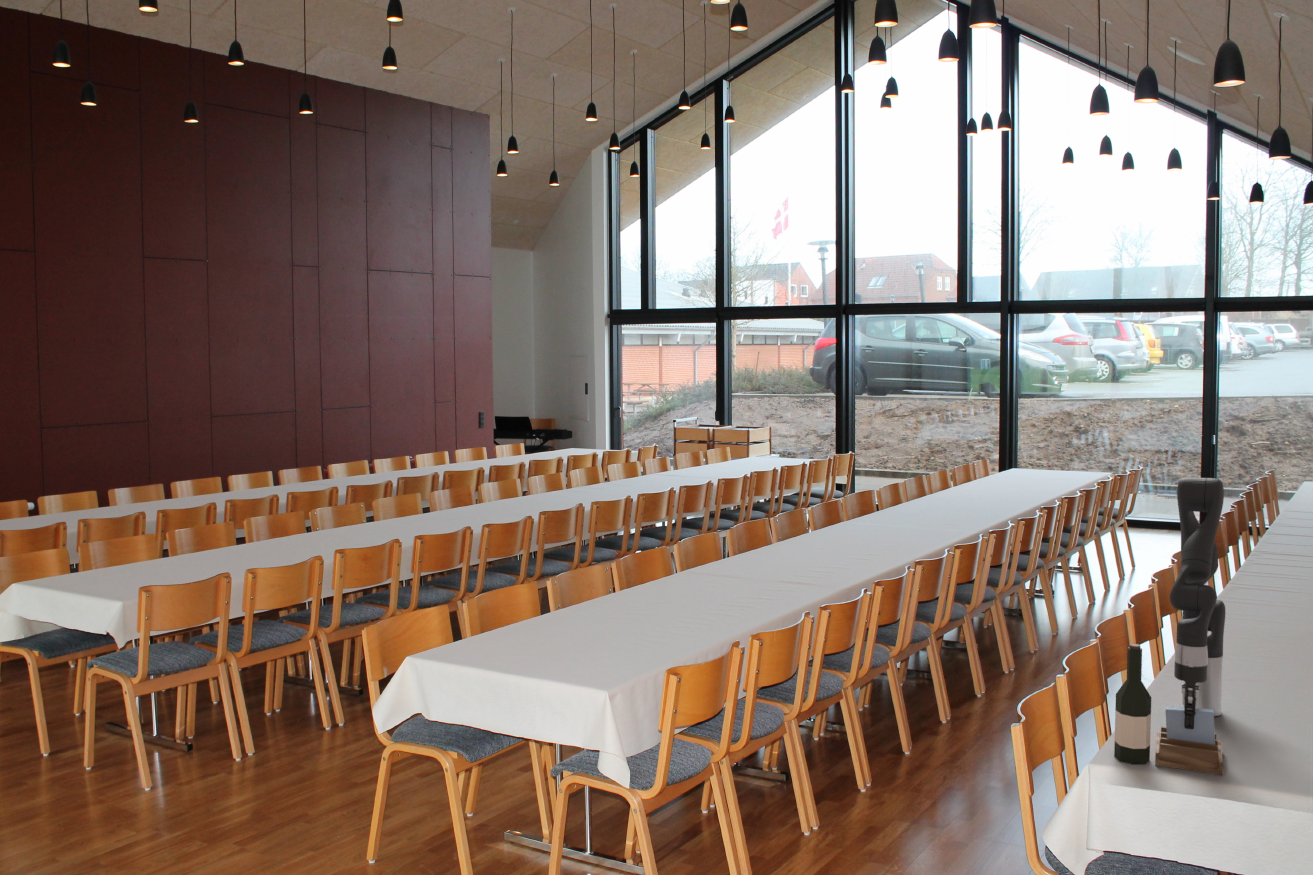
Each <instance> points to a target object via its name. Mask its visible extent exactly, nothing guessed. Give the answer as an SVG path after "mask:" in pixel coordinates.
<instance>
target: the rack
mask: <svg viewBox="0 0 1313 875" xmlns="http://www.w3.org/2000/svg"><path fill="white" fill-rule="evenodd" d="M1217 736H1218V735H1217V733H1215V745H1212V744H1205V743H1197V742H1190V741H1183V740H1176V739H1169V738H1167V729H1166V726H1160V731H1157V732H1156V741H1155V742H1156V744H1155V760H1154V761H1155V762H1154V763H1155V764H1154V765H1155V766H1159V765H1160V767H1165V766H1166V768H1173V769H1180V770H1187V771H1192V772H1193V771H1194V772H1200V773H1207V774H1213V775H1219V776H1220V775H1222V776H1223V753H1222V742H1221V739H1220V740H1219V739H1217Z"/></svg>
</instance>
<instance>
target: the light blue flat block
mask: <svg viewBox="0 0 1313 875" xmlns="http://www.w3.org/2000/svg"><path fill="white" fill-rule="evenodd" d="M1187 709H1188V710H1193V709H1190V708H1187ZM1195 712H1196V714H1195V716H1194V729H1186V728H1185V727H1184V720H1185V714H1184V706H1182V707H1181V706H1179V707H1178V706H1169V705H1168V706H1167V705H1166V706H1165V723H1166V724H1165V727H1166V729H1167V738H1169V739H1176V740H1183V741H1190V742H1197V743H1205V744H1212V745H1215V734H1216V733H1215V716H1214V710H1213V709H1199V708H1195Z"/></svg>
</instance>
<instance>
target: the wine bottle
mask: <svg viewBox="0 0 1313 875" xmlns="http://www.w3.org/2000/svg"><path fill="white" fill-rule="evenodd" d="M1126 656H1127V657H1126V659H1127V660H1126V680H1125V681H1124V682H1123V683H1122V685H1121V687H1119V689H1118V690H1117V692H1116V693H1115V709H1114V710H1115V712H1114V713H1115V714H1114V716H1115V718H1114V722H1115V723H1114V751H1113V752H1114V754H1113V755H1114V756H1113V757H1114V758H1115V759H1116V760H1118V761H1119V762H1120V763H1125V764H1128V765H1132V766H1133V765H1136V766H1137V765H1143V766H1144V765H1146V764H1148V763H1149V762H1150V761H1151V759H1150V758H1151V756H1150V755H1151V729H1152V727H1151V723H1152V720H1151V719H1152V696H1151V695H1150V693H1149V691H1148V690H1147V688H1146V686H1145V685H1144V683H1143V681H1142V672H1143V671H1142V669H1143V667H1142V665H1143V648H1141V645H1140V644H1138V643H1130V644H1129V646H1128V647H1127V653H1126ZM1147 762H1148V763H1147Z"/></svg>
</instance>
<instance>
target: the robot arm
mask: <svg viewBox="0 0 1313 875" xmlns="http://www.w3.org/2000/svg"><path fill="white" fill-rule="evenodd" d="M1224 489H1225V488H1224V484H1223V482H1222V480H1221V479H1219V478H1213V477H1192V476H1191V477H1189V476H1188V477H1187V476H1186V477H1182V478H1180V479H1179V481H1178V483H1177V487H1176V498H1177V508H1178V515H1179V523H1180V524H1179V525H1180V557H1181V558H1180V560H1181V561H1180V569H1179V572H1178V574H1177V577H1176V579H1175V581H1174V582H1173V585H1172V586H1171V590H1170V591H1169V602H1170V605H1171V606H1172V607H1173V608H1174V610H1179V611H1182V616H1181V617H1182V619H1180V620H1178V622H1177V624H1176V639H1175V640H1176V641H1175V642H1176V644H1175V648H1174V649H1175V650H1174V668H1173V670H1174V673H1173V674H1174V678H1175V679H1177V680H1179V681H1181V682H1184V683H1181V694H1182V696H1181V697H1182V700H1181V701H1182V705H1183V708H1184V714H1185V720H1184V727H1185V728H1186V729H1194V716H1195V714H1196V712H1195V708H1199V709H1213V710H1214V717H1217V716H1218V717H1219V716H1221V715H1222V698H1223V697H1222V696H1223V693H1222V692H1223V670H1224V668H1223V667H1224V666H1223V663H1224V634H1225V633H1224V632H1225V624H1226V604H1225V603H1224V601H1223V600H1221V599H1220V600H1219V599H1218V596H1217V592H1216V590H1215V589H1214V587H1212V586H1211V585H1207V584H1206V583H1208V582H1209V581H1210V580H1211V579H1212V577H1214V575H1215V574H1216V572H1217V571H1218V569H1219V548H1218V544H1217V542H1216V541H1215V540H1216V537H1217V534H1218V530H1219V529H1218V528H1219V525H1220V521H1221V516H1222V512H1223V506H1224V500H1225V499H1224V498H1225V494H1224V493H1225V490H1224ZM1196 512H1197V513H1199V512H1200V513H1207V514H1206V517H1205V519H1204V520H1203V521H1202V523H1200V522H1199V520H1198V518H1197V517H1196V515H1195V513H1196ZM1208 632H1210V633H1211V634H1209V635H1208ZM1187 708H1190V709H1193V710H1188V709H1187Z"/></svg>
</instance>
